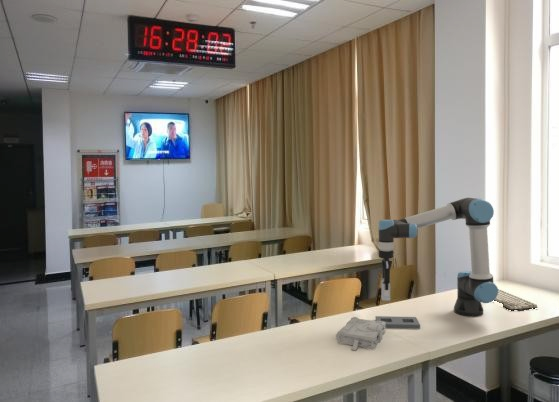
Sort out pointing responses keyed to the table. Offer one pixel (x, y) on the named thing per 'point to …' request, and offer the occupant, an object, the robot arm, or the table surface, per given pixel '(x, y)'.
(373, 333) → the grey lumpy block
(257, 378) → the table surface
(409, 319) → the jack panel
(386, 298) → the plug
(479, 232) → the robot arm
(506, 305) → the mechanical keyboard
